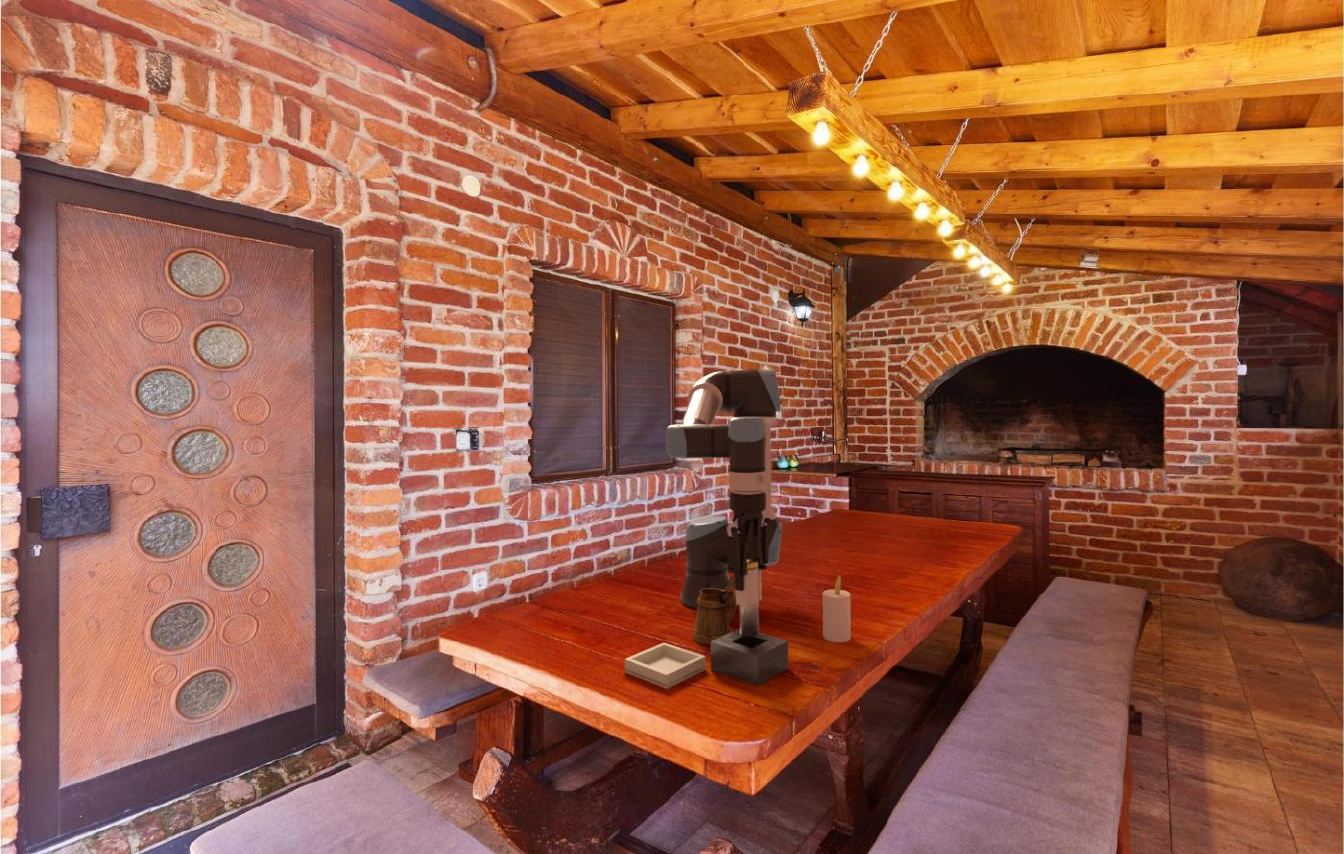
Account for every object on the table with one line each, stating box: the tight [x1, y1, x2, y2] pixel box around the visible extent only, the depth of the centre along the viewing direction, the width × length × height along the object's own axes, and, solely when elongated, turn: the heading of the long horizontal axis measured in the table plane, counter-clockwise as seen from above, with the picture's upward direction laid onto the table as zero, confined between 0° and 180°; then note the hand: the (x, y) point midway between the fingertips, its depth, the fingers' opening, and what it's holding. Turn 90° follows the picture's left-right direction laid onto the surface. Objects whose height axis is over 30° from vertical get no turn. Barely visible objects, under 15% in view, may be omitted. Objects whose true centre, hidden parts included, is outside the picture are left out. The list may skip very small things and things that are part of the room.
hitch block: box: [710, 628, 789, 687], centre depth 135 cm, size 12×11×6 cm
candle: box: [821, 574, 852, 643], centre depth 152 cm, size 6×6×15 cm
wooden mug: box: [692, 574, 738, 645], centre depth 152 cm, size 9×14×18 cm, turn 51°
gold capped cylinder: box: [738, 559, 760, 637], centre depth 135 cm, size 4×4×15 cm
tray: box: [624, 642, 707, 690], centre depth 135 cm, size 12×12×3 cm
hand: (748, 601), depth 135 cm, fingers closed on gold capped cylinder, 4 cm apart
